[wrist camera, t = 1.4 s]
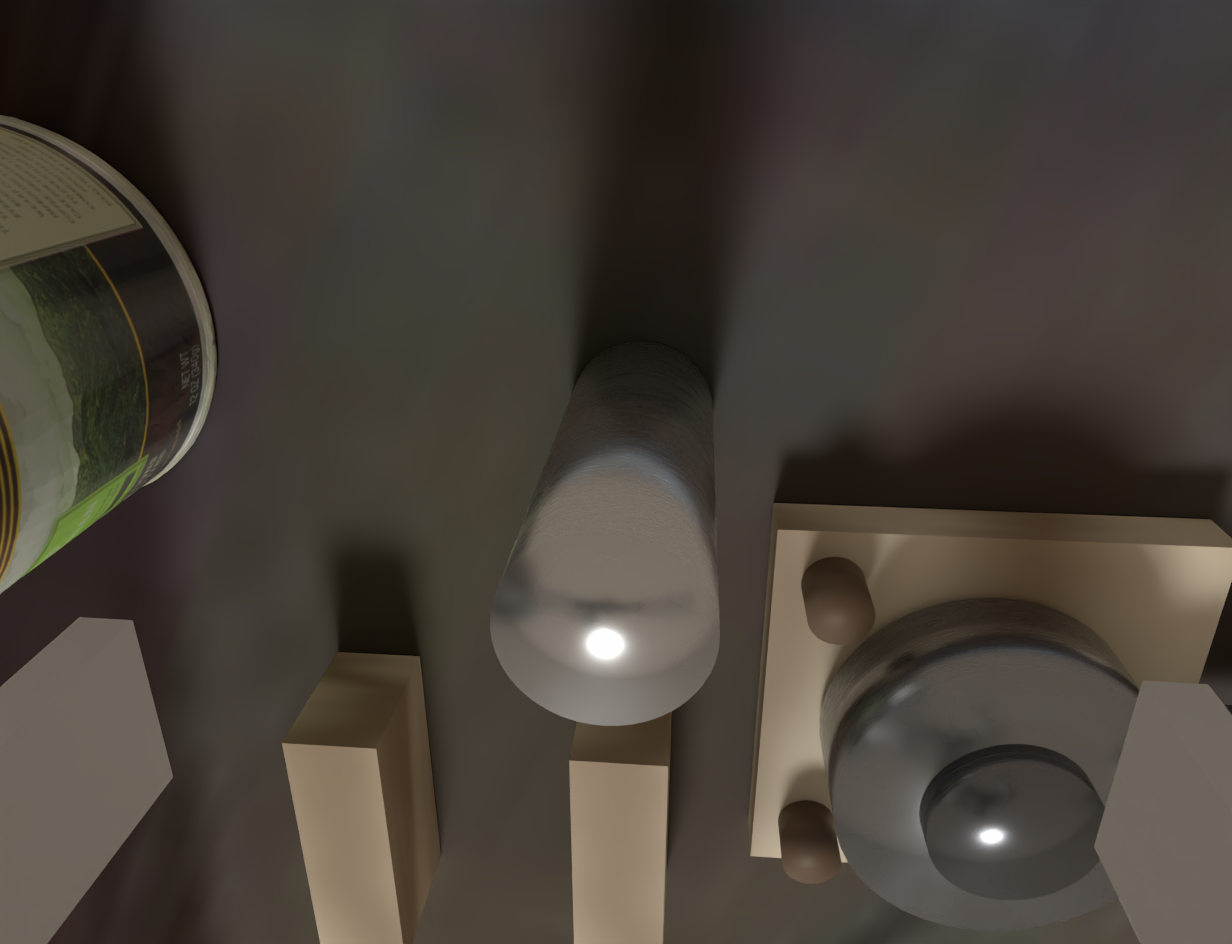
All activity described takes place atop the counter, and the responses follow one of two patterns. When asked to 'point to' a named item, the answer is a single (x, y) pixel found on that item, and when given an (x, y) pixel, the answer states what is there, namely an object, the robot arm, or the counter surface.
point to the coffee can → (88, 344)
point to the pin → (618, 547)
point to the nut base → (943, 572)
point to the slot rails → (407, 820)
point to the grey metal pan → (978, 762)
